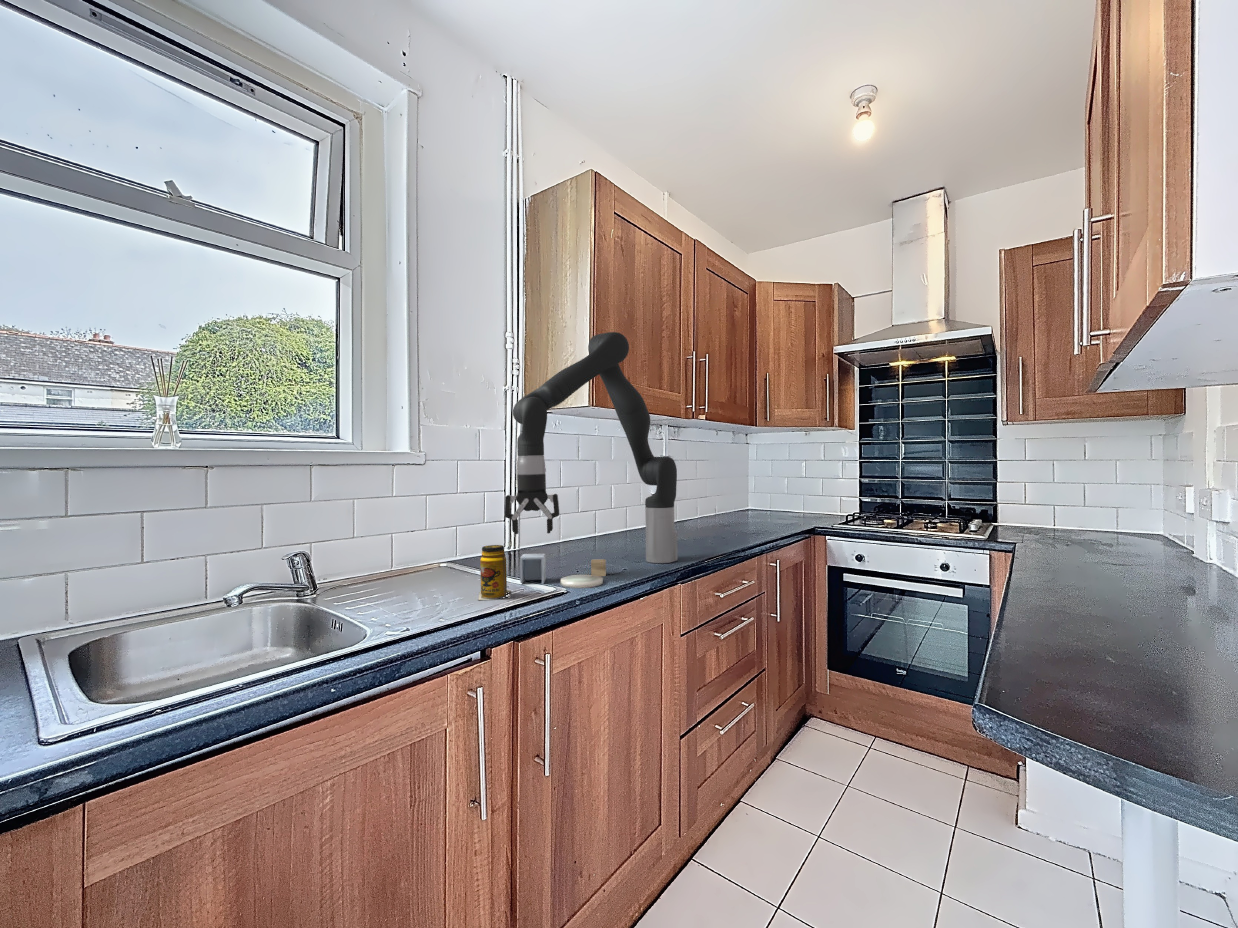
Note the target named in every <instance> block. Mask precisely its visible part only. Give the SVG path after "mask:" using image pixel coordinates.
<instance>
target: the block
mask: <svg viewBox="0 0 1238 928" xmlns="http://www.w3.org/2000/svg"><path fill="white" fill-rule="evenodd" d="M606 565H607V564H606V559H591V561H590V568H591V570H590V571H591V572H590V573H591V574H590V575H596V576H600V577H606V576H607V574H606V573H607V572H606V571H607V570H606V569H607V568H606V567H607V566H606Z"/></svg>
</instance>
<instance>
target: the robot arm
mask: <svg viewBox="0 0 1238 928" xmlns="http://www.w3.org/2000/svg"><path fill="white" fill-rule="evenodd" d="M587 347H588V348H587V349H588V355H587V356H585V357H583V358H582V359H580V360H578V361H576V362H575V363H573V364H571V365H569V366H566V367H565V368H563V369H562V370H560V371H558V372H557V373H555V374H554V375H553V376H552V377H550V378H549V379H548V380H547V381H545V382H544V383H543V384H541V386H539V387H537V388H536V389H534V390H533V391H531V392H530V393H528V394H526V395H525V396H523V397H521V398H520V399H519V400H517V402H516V403H515V404H514V406H513V409H512V416H513V418H514V420H515V421H516V423H518V424H520V425H521V433H520V434H519V435H518V436H517V439H516V441H517V442H516V444H517V446H516V447H517V460H516V477H517V478H516V484H517V487H516V489H517V490H516V491H517V493H516V495H510V494H508V495H506V496H505V498H504V500H505V502H504V505H505V506H504V517H505V518H506V519H507V518H508V519H509V520H511V526H512V527H511V529H512V533H514V535H518V534H519V519H518V518H519V517H520V515H521V514H522V512H523V511H526V512H530V511H533V512H538V511H541V512H542V513H543V514H544V516H545V517H546V518H547V519H546V534H551V532H552V531H553V529H554V526H553V525H554V524H553V523H554V522H553V520H554V519H555V518H557V517H559V515H560V505H559V504H560V502H559V495H558V494H557V493H554V494H548V493H547V482H546V481H547V480H546V479H547V478H546V472H547V467H546V460H545V459H546V458H545V444H544V443H545V442H544V441H545V440H544V438H545V433H546V429H547V422H548V421H547V420H548V410H549V411H550V409H552V408H555V407H557V406H558V405H560V404H562V403H563V402H564V401H566V400H567V399H568V398H569V397H570V396H572V395H573V394H574V393H575V392H577V391H578V390H580V388H581V387H583V386H584V385H586V384H588V383H589V382H590V381H591V380H593V379H594V378H596V377H597V376H600V379H601V380H602V382H603V385H604V387H605V389H606V392H607V394H608V396H609V398H610V400H611V402H612V403H611V404H612V405H613V407H614V409H615V413H616V415H617V418H618V420H619V422H620V426H621V427H622V429H623V431H624V434H625V435H626V438H627V439H626V440H627V441H628V444H629V447H630V449H631V451H632V455H633V458H634V462H635V465H636V469H637V471H638V475H639V477H640V479H641V481H642V482H643V483H644V485H645V484H646V485H647V486H656V489H655V492H654V493H653V494H652V495H650V496H648V497H646V498H645V501H644V502H645V503H644V505H645V509H644V510H645V514H644V515H645V517H644V518H645V561H646V562H648V563H651V564H653V563H654V564H667V563H674V562H676V561H678V531H677V530H676V529H675V501H676V497H677V483H678V482H677V481H678V479H677V478H678V473H677V471H678V470H677V469H678V468H677V465H676V462H675V460H674V459H673V458H672V457H670V456H654V454H653V452H652V450H651V447H650V444H649V434H650V429H651V416H650V412H649V410H648V407H647V405H646V402H645V399H644V397H643V396H642V395H641V393H640V392H639V390H637V388H635V386H634V385H633V384H632V383H631V382H630V381H629V380H628V379H627V377H626V376H625V375H624V373H623V371H622V369H621V366H620V363H622V362H623V361H625V359H626V358H627V356H628V354H629V351H630V344H629V340H628V339H627V337H626V336H625V335H624V334H623V333H622V332H621V333H620V332H617V331H609V332H604V333H599V334H595V335H592V337H591V338H590V339H589V342H588V346H587ZM548 500H549V502H551V503H552V504H553V512H551V511H550V510H549V509H548V507H547V506H546V505H545V504H546V502H547V501H548ZM515 501H516V502H517V503H518V505H519V507H518V508H517V509H516V510H515V512H514V513H512V504H513V503H514V502H515Z"/></svg>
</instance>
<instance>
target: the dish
mask: <svg viewBox="0 0 1238 928" xmlns="http://www.w3.org/2000/svg"><path fill="white" fill-rule="evenodd" d="M603 583H604V578H603V576H596V575H591V574H572V575H567V576H564V577H561V578H560V586H562V587H564V588H571V589H572V588H573V589H586V588H587V589H589V588H595V587H599V586H601V585H603Z"/></svg>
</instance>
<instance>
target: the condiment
mask: <svg viewBox="0 0 1238 928" xmlns="http://www.w3.org/2000/svg"><path fill="white" fill-rule="evenodd" d="M505 554H506V553H505V546H504V545H501V544H491V545H490V544H489V545H485V546H482V547H481V557H480V560H479V561H480V563H479V564H480V565H479V566H480V592H479V595H478V601H485V600H486V601H489V600H491V601H493V600H498V599H497V598H503V597H506V595H508V594H510V596H508V598H507V599H511V589H507V587H508V586H507V585H508V582H507V580H508V579H507V578H508V577H507V574H508V573H507V557H506V556H505ZM508 592H509V593H508ZM506 593H507V594H506ZM503 599H504V598H503Z"/></svg>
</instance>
